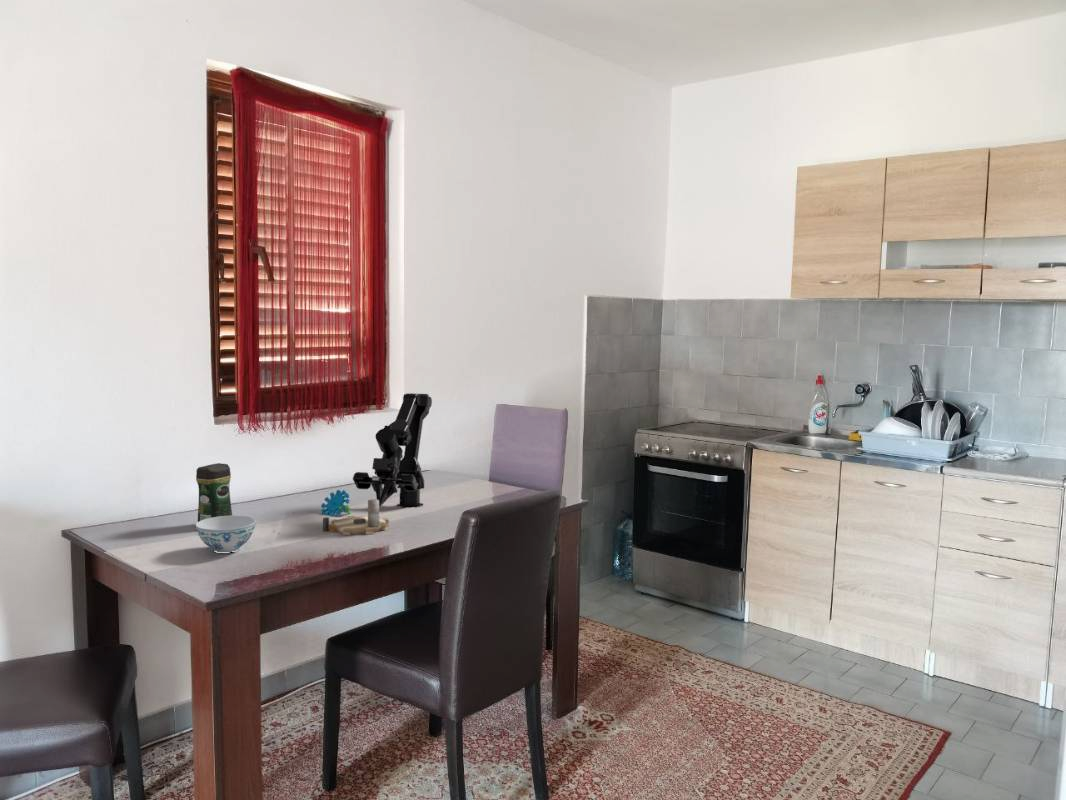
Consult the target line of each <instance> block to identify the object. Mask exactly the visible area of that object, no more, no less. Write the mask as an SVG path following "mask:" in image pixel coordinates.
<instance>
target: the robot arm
mask: <svg viewBox="0 0 1066 800" xmlns="http://www.w3.org/2000/svg"><path fill="white" fill-rule="evenodd" d="M432 401H433V399H432V397H431V396H430V395H429V394H428V393H414V392H413V393H411V392H408V393H404V394H403V397H402V403H401V404H400V405H401V406H400V408H399V410H398V412H397V415H396V418H395V420H394V421H393V422H391V423H390V424H389V425H384V426H383V428H381V429H379V430H378V431H377V432H376V433H375V440H376V443H377V445H378V448H379V450H380V451H381V453H382V456H381V457H380V458H379V457H374V458H373V462H372V467H371V468H372V470H374V475H372V476H370V474H369V472H367V471H366V472H365V471H364V472H363V471H356V472H354V474H353V477H352V480H353V482H354V484H355V487H356V489H358V490H368V489H370V488H372V489H373V491H374V492H375V494H376V495H375V496H376V499H377V500H379V508H380V507H382V505H384V503H386V501H387V500H388V499H390V497H392V496H393V494H394V495H395V493H398V489H399V503H397V504H396V506H397V507H400V506H402V507H401V508H406V507H407V508H406V509H408V508H409V509H410V508H412V507H414V508H417V507H416V506H418V507H421V506H424V503H422V502H420V499H421V498H420V497H421V496H420V495H421V489H422V490H423V489H425V477H424V476H423V473H422V467H421V465H420V463H419V460H418V459H419V452H420V451H419V450H420V445H421V439H422V430H423V423H424V420H425V419H426V417H427V416H428V415H429V413H430V409H431V407H432V403H433V402H432ZM402 447H404V451H403V449H402ZM403 453H404V454H403ZM420 505H421V506H420Z"/></svg>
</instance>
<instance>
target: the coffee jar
mask: <svg viewBox="0 0 1066 800" xmlns="http://www.w3.org/2000/svg"><path fill="white" fill-rule="evenodd" d="M231 474H232V473H231V468H230V466H229V464H227V463H222V462H221V463H220V462H219V463H218V462H217V463H212V464H208V465H207V464H206V465H202V466H199V467H198V468H197V469H196V475H195V480H196V483H197V487H198V505H197V507H198V508H197V510H198V512H197V522H199V521H201V520H204V519H208V518H213V517H220V516H233V512H232V511H233V510H232V502H231V493H230V482H231V477H232V475H231Z"/></svg>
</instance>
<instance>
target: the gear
mask: <svg viewBox="0 0 1066 800" xmlns="http://www.w3.org/2000/svg"><path fill="white" fill-rule="evenodd" d="M329 495H330V498H329V497H328V496H326V497H325V498H324V501H325V502H326V503H327V504H326V503H324V502H323V503H322V504H320V505H321V506H320V507H321V508H322V509H321V511H320V512H321V513H322V514H324V516H330V517H334V516H335V515H337V516H339V515H341V514H342V512H343V513H345V514H348V515H352V512H351V511H350V509H351V507H350V506H349V505H348V504H349V503H350V501H351V500H350V499H349V498H350V494H349V493H347V491H346V490H344V489H343V490H342V491H341V490H340V489H337V490H336V491H335V492H333V491H332V492H330V493H329ZM344 503H345V504H344Z"/></svg>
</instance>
